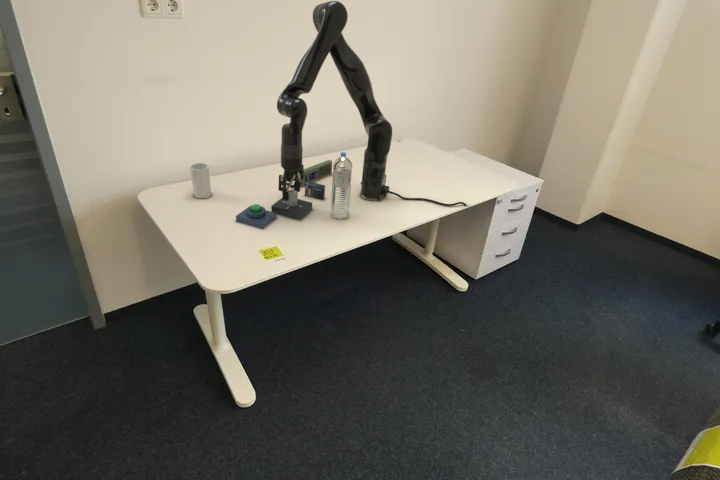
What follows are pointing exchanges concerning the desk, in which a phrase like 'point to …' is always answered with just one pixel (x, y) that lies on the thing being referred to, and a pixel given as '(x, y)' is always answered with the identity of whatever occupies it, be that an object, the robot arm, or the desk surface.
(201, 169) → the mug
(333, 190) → the water bottle
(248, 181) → the desk surface
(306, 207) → the dial panel
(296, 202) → the program dial
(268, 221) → the housing
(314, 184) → the mini dv tape
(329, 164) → the handheld radio
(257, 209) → the button
